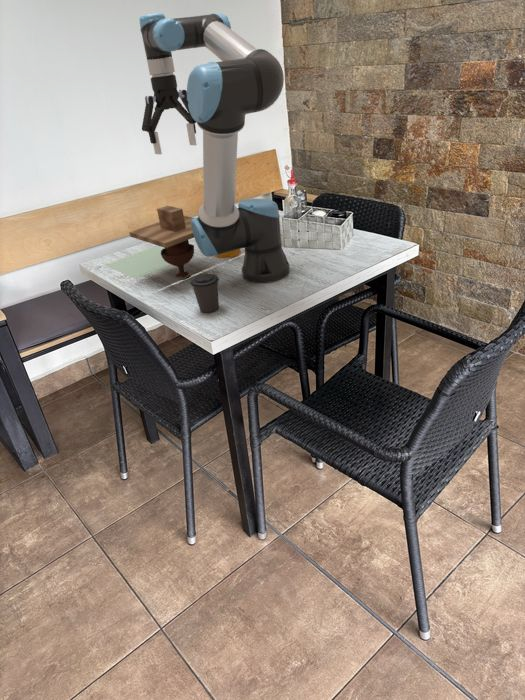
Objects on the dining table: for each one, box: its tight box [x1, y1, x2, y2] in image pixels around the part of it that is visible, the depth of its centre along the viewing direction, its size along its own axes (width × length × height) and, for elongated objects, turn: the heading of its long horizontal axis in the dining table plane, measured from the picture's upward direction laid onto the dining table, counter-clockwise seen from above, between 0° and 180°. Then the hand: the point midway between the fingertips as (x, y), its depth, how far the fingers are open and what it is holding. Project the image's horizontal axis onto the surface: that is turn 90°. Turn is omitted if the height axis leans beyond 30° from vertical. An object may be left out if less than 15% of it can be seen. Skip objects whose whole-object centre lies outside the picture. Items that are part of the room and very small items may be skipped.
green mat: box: [104, 245, 172, 280], centre depth 188 cm, size 22×22×1 cm
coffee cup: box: [189, 273, 220, 315], centre depth 148 cm, size 8×8×10 cm
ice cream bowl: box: [161, 240, 195, 281], centre depth 170 cm, size 11×11×15 cm
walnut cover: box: [129, 205, 195, 249], centre depth 164 cm, size 20×20×8 cm
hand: (176, 149), depth 169 cm, fingers open, 13 cm apart
